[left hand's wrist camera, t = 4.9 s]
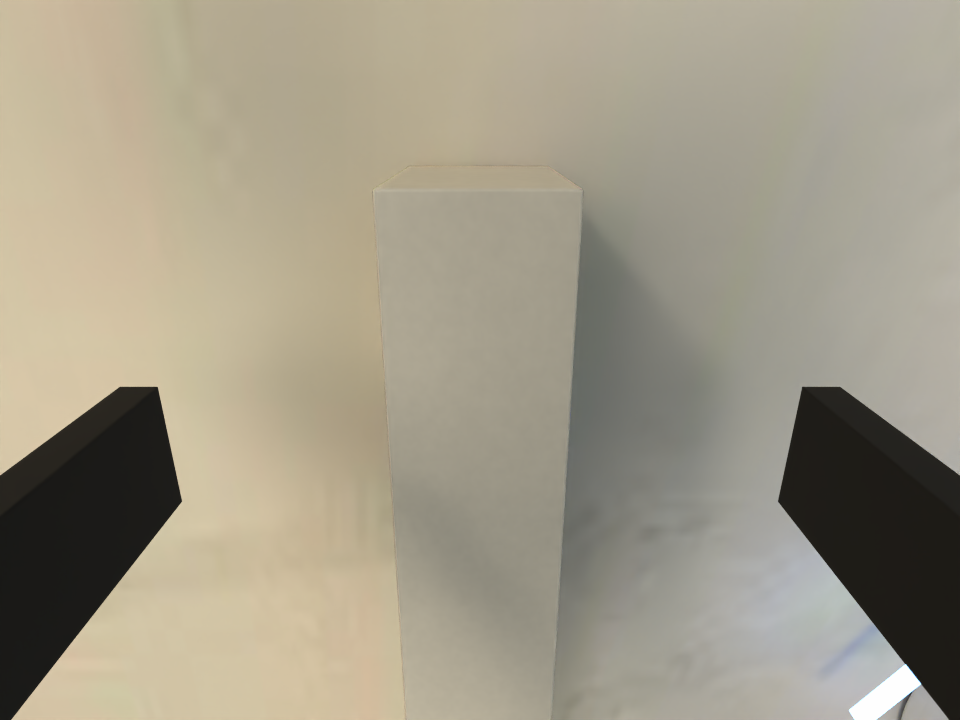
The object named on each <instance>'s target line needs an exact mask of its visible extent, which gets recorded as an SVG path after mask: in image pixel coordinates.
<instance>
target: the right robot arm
mask: <svg viewBox="0 0 960 720" xmlns="http://www.w3.org/2000/svg"><path fill="white" fill-rule="evenodd" d="M912 691H913V692H912ZM910 692H912V693H911V695H910V697H909V699H908V701H907V703H906V705H905V708H904V711H903V714H902V717H901V720H949V719H948V718H947V717H946V715H945V714H944V713H943V712H942V710H941V709H940V708H939V706H938V705H937V704H936V703H935V701H934V700H933V699H932V697H931V696H930V695H929V694H928V692H927V691H926V690H925V689H924V687H923V686H922V685H921V683H920V682H919V681H918V680H917V678H916V677H915V676H914V674H913V673H912V672H911V671H910V669H909V668H908V667H907V666H906V665H904V666H903V667H902V668H901V669H899V670H898V671H897V672H896V673H894V674H893V675H892V676H891V677H889V678H888V679H887V680H886V681H885V682H883V683H882V684H881V685H880V686H878V687H877V688H876V689H875V690H873V691H872V692H871V693H870V694H868V695H867V696H866V697H865V698H864V699H862V700H861V701H860V702H859V703H857V704H856V705H855V706H854V707H852V708H851V709H850V710H849V711H850V713H851V714H852V716H853V717H854V719H855V720H876V719H877V718H879V717H880V716H881V715H882V714H884V713H885V712H886V711H887V710H889V709H890V708H891V707H893V706H894V705H895V704H896V703H898V702H899V701H900V700H901V699H903V698H904V697H905V696H906V695H908V694H909V693H910Z"/></svg>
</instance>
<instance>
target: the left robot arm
mask: <svg viewBox="0 0 960 720" xmlns="http://www.w3.org/2000/svg"><path fill="white" fill-rule="evenodd" d="M181 502H182V499H181V495H180V490H179V485H178V480H177V476H176V471H175V466H174V462H173V457H172V452H171V448H170V443H169V438H168V433H167V429H166V424H165V419H164V415H163V410H162V405H161V401H160V396H159V391H158V387H119V388H118V389H117V390H115V391H114V392H112V393H111V394H110V395H108V396H107V397H106V398H104V399H103V400H102V401H100V402H99V403H98V404H96V405H95V406H94V407H92V408H91V409H90V410H88V411H87V412H85V413H84V414H83V415H81V416H80V417H79V418H77V419H76V420H75V421H73V422H72V423H71V424H69V425H68V426H67V427H65V428H64V429H62V430H61V431H60V432H58V433H57V434H56V435H54V436H53V437H52V438H50V439H49V440H48V441H46V442H45V443H44V444H42V445H41V446H39V447H38V448H37V449H35V450H34V451H33V452H31V453H30V454H29V455H27V456H26V457H25V458H23V459H22V460H21V461H19V462H18V463H17V464H15V465H14V466H12V467H11V468H10V469H8V470H7V471H6V472H4V473H3V474H2V475H0V720H11V719H12V718H13V717H14V715H15V714H16V713H17V712H18V710H19V709H20V708H21V706H22V705H23V704H24V703H25V701H26V700H27V699H28V697H29V696H30V695H31V694H32V692H33V691H34V690H35V689H36V687H37V686H38V685H39V683H40V682H41V681H42V680H43V678H44V677H45V676H46V674H47V673H48V672H49V671H50V669H51V668H52V667H53V666H54V664H55V663H56V662H57V660H58V659H59V658H60V657H61V655H62V654H63V653H64V651H65V650H66V649H67V648H68V646H69V645H70V644H71V643H72V641H73V640H74V639H75V637H76V636H77V635H78V634H79V632H80V631H81V630H82V628H83V627H84V626H85V625H86V623H87V622H88V621H89V620H90V618H91V617H92V616H93V614H94V613H95V612H96V611H97V609H98V608H99V607H100V605H101V604H102V603H103V602H104V600H105V599H106V598H107V597H108V595H109V594H110V593H111V591H112V590H113V589H114V588H115V586H116V585H117V584H118V582H119V581H120V580H121V579H122V577H123V576H124V575H125V574H126V572H127V571H128V570H129V568H130V567H131V566H132V565H133V563H134V562H135V561H136V559H137V558H138V557H139V556H140V554H141V553H142V552H143V551H144V549H145V548H146V547H147V545H148V544H149V543H150V542H151V540H152V539H153V538H154V536H155V535H156V534H157V533H158V531H159V530H160V529H161V528H162V526H163V525H164V524H165V522H166V521H167V520H168V519H169V517H170V516H171V515H172V513H173V512H174V511H175V510H176V508H177V507H178V506H179V505H180V503H181ZM778 502H779V503H780V505H781V506H782V507H783V508H784V510H785V511H786V512H787V514H788V515H789V516H790V517H791V519H792V520H793V521H794V522H795V524H796V525H797V526H798V528H799V529H800V530H801V531H802V533H803V534H804V535H805V536H806V538H807V539H808V540H809V542H810V543H811V544H812V545H813V547H814V548H815V549H816V551H817V552H818V553H819V554H820V556H821V557H822V558H823V559H824V561H825V562H826V563H827V565H828V566H829V567H830V568H831V570H832V571H833V572H834V574H835V575H836V576H837V577H838V579H839V580H840V581H841V582H842V584H843V585H844V586H845V588H846V589H847V590H848V591H849V593H850V594H851V595H852V597H853V598H854V599H855V600H856V602H857V603H858V604H859V605H860V607H861V608H862V609H863V611H864V612H865V613H866V614H867V616H868V617H869V618H870V620H871V621H872V622H873V623H874V625H875V626H876V627H877V628H878V630H879V631H880V632H881V634H882V635H883V636H884V637H885V639H886V640H887V641H888V643H889V644H890V645H891V646H892V648H893V649H894V650H895V651H896V653H897V654H898V655H899V657H900V658H901V659H902V660H903V662H904V663H905V664H906V666H907V667H908V668H909V669H910V671H911V672H912V673H913V674H914V676H915V677H916V678H917V680H918V681H919V682H920V683H921V685H922V686H923V687H924V689H925V690H926V691H927V692H928V694H929V695H930V696H931V697H932V699H933V700H934V701H935V703H936V704H937V705H938V706H939V708H940V709H941V710H942V712H943V713H944V714H945V715H946V717H947V718H948V719H949V720H960V475H958V474H957V473H956V472H954V471H953V470H952V469H950V468H949V467H948V466H946V465H945V464H943V463H942V462H941V461H939V460H938V459H937V458H935V457H934V456H933V455H931V454H930V453H929V452H927V451H926V450H925V449H923V448H922V447H921V446H919V445H918V444H916V443H915V442H914V441H912V440H911V439H910V438H908V437H907V436H906V435H904V434H903V433H902V432H900V431H899V430H898V429H896V428H895V427H893V426H892V425H891V424H889V423H888V422H887V421H885V420H884V419H883V418H881V417H880V416H879V415H877V414H876V413H875V412H873V411H872V410H870V409H869V408H868V407H866V406H865V405H864V404H862V403H861V402H860V401H858V400H857V399H856V398H854V397H853V396H852V395H850V394H849V393H848V392H846V391H845V390H843V389H842V388H841V387H802V391H801V396H800V401H799V405H798V410H797V415H796V419H795V424H794V429H793V433H792V438H791V443H790V448H789V452H788V457H787V462H786V466H785V471H784V476H783V480H782V485H781V490H780V495H779V499H778Z"/></svg>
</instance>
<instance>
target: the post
mask: <svg viewBox="0 0 960 720" xmlns="http://www.w3.org/2000/svg"><path fill="white" fill-rule="evenodd" d="M372 193H373V209H374V225H375V241H376V256H377V272H378V288H379V304H380V320H381V336H382V352H383V368H384V384H385V400H386V415H387V431H388V447H389V463H390V479H391V495H392V511H393V527H394V543H395V559H396V575H397V590H398V606H399V622H400V638H401V654H402V670H403V686H404V702H405V718H406V720H552V705H553V689H554V672H555V656H556V639H557V623H558V606H559V590H560V573H561V557H562V540H563V524H564V507H565V491H566V475H567V458H568V442H569V425H570V409H571V392H572V376H573V359H574V343H575V326H576V310H577V293H578V277H579V260H580V244H581V227H582V211H583V194H584V191H583V189H582V188H580V187H579V186H577V185H576V184H574V183H573V182H571V181H570V180H568V179H567V178H565V177H564V176H562V175H561V174H559V173H558V172H556V171H555V170H553V169H552V168H550V167H549V166H409V167H407V168H405V169H404V170H402V171H401V172H399V173H398V174H396V175H395V176H393V177H391V178H390V179H388V180H387V181H385V182H384V183H382V184H381V185H379V186H377V187H376V188H374V189H373V192H372Z"/></svg>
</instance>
